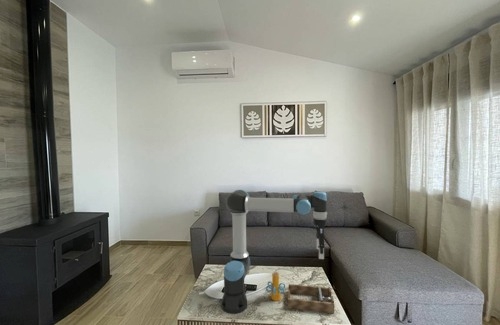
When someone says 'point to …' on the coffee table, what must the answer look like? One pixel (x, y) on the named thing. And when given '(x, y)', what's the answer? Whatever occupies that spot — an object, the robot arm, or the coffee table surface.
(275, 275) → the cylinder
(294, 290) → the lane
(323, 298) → the pusher
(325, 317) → the coffee table surface
